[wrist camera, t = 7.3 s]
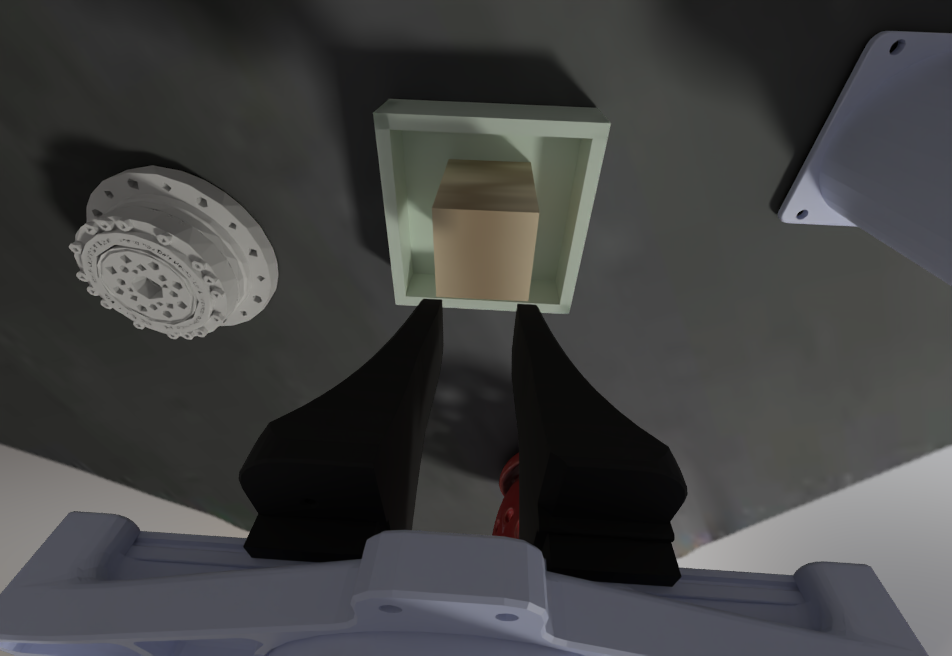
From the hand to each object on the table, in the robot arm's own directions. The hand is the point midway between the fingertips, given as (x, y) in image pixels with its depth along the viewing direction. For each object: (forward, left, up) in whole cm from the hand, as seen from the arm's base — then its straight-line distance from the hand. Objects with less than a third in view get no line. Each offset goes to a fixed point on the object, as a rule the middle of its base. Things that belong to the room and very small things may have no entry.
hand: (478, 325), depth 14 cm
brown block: (0, 0, -10) cm, 10 cm away
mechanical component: (+18, +4, -11) cm, 21 cm away
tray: (0, 0, -10) cm, 10 cm away
